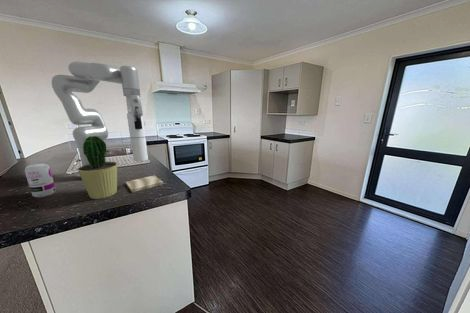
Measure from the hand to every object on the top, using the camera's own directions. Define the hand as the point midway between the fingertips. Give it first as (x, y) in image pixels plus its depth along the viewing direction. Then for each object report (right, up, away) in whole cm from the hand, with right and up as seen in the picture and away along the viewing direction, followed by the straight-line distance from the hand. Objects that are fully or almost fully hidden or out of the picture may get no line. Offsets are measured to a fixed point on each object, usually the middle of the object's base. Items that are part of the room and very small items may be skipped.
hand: (136, 128), depth 93 cm
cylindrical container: (0, -17, +4) cm, 17 cm away
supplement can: (-43, -34, -5) cm, 56 cm away
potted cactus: (-14, -34, -4) cm, 37 cm away
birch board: (0, -31, +8) cm, 32 cm away
